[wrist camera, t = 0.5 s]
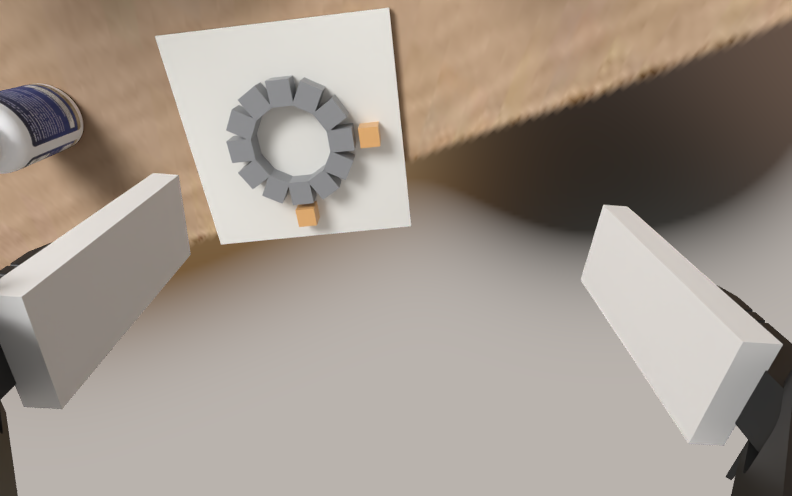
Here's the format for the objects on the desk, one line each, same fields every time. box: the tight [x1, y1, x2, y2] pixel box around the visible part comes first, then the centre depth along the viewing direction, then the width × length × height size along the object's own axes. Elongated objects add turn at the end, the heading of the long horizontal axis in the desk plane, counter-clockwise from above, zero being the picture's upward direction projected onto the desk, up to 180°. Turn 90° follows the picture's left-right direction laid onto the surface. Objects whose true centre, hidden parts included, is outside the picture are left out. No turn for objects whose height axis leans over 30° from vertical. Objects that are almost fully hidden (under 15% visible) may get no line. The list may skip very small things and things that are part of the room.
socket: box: [155, 8, 411, 244], centre depth 39 cm, size 18×18×2 cm
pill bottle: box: [0, 84, 83, 174], centre depth 35 cm, size 5×5×10 cm
